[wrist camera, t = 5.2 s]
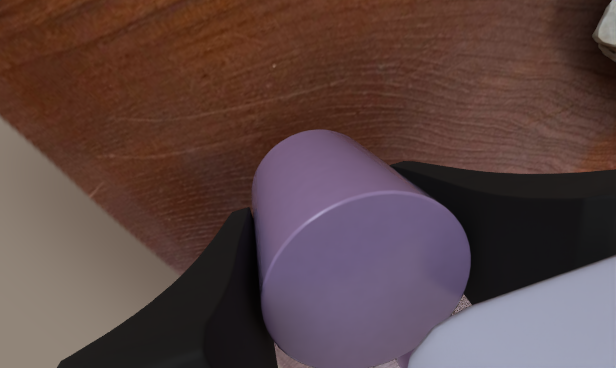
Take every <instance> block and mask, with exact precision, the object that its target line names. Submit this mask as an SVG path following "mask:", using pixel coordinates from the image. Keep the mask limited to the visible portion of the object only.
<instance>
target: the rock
mask: <svg viewBox="0 0 616 368" xmlns="http://www.w3.org/2000/svg"><path fill="white" fill-rule="evenodd" d="M592 37H593V39H594V40H595V41H596V42H597V43H599V45H598V47H599V48H600V49H601V50H602V53H603V54H604V55H605V56H607V57H609V58H611V59H612V60H613V61H615V62H616V0H612V1H611V3H610V4H609V5H608V6H607V7H606V9H605V12H604V14H603V16H602V18H601V20H600V22H599V24H598V26H597V28H596V30H595V31H594V33H593V35H592Z"/></svg>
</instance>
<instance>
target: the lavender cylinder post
mask: <svg viewBox="0 0 616 368" xmlns="http://www.w3.org/2000/svg"><path fill="white" fill-rule="evenodd" d="M252 209H253V221H254V233H255V244H256V256H257V268H258V279H259V291H260V303H261V311H262V317H263V321H264V323H265V326H266V329H267V331H268V333H269V334H270V336H271V338H272V339H273V341H274V342H275V343H276V344H277V346H278V347H279V348H280V349H281V350H282V351H283V352H285V353H286V354H287V355H288V356H290V357H291V358H293V359H294V360H296V361H298V362H300V363H302V364H305V365H307V366H310V367H314V368H371V367H375V366H378V365H381V364H384V363H387V362H390V361H392V360H394V359H396V358H399V357H401V356H403V355H405V354H406V353H408V352H410V351H412V350H413V349H415V348H416V347H417V346H418V345H419V343H420V342H421V341H422V340H423V339H424V337H425V336H426V335H427V334H428V333H429V332H430V330H431V329H432V328H433V327H434V326H435V325H436V324H438V323H440V322H442V321H444V320H445V319H447V318H449V317H450V316H451V314H452V313H453V311H454V310H455V308H456V307H457V305H458V303H459V302H460V300H461V298H462V296H463V293H464V291H465V289H466V285H467V282H468V279H469V274H470V268H471V253H470V246H469V242H468V239H467V236H466V233H465V231H464V229H463V227H462V225H461V223H460V222H459V221H458V219H457V218H456V217H455V215H454V214H453V213H452V212H451V211H449V210H448V209H447V208H446V207H445V206H444V205H442V204H441V203H440V202H438V201H437V200H435V199H434V198H433V197H431V196H430V195H429V194H427V193H426V192H425V191H423V190H422V189H420V188H419V187H418V186H416V185H415V184H414V183H412V182H411V181H410V180H408V179H407V178H405V177H404V176H403V175H401V174H400V173H399V172H397V171H396V170H395V169H393V168H392V167H390V166H389V165H388V164H386V163H385V162H384V161H382V160H381V159H380V158H378V157H377V156H376V155H374V154H373V153H371V152H370V151H369V150H367V149H366V148H365V147H363V146H362V145H361V144H359V143H358V142H356V141H355V140H353V139H352V138H350V137H349V136H346V135H344V134H342V133H339V132H335V131H330V130H309V131H304V132H300V133H297V134H295V135H292V136H290V137H288V138H286V139H285V140H283V141H281V142H280V143H279V144H277V145H276V146H275V147H274V148H272V149H271V150H270V151H269V152H268V154H267V155H266V156H265V157H264V159H263V160H262V162H261V163H260V165H259V166H258V169H257V171H256V173H255V176H254V180H253V183H252Z"/></svg>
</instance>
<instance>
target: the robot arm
mask: <svg viewBox="0 0 616 368" xmlns="http://www.w3.org/2000/svg"><path fill="white" fill-rule="evenodd" d="M389 166H390V167H392V168H393V169H395V170H396V171H397V172H399V173H400V174H401V175H403V176H404V177H405V178H407V179H408V180H410V181H411V182H412V183H414V184H415V185H416V186H418V187H419V188H420V189H422V190H423V191H425V192H426V193H427V194H429V195H430V196H431V197H433V198H434V199H435V200H437V201H438V202H440V203H441V204H442V205H444V206H445V207H446V208H447V209H448V210H449V211H451V212H452V213H453V214H454V215H455V217H456V218H457V219H458V221H459V222H460V223H461V225H462V227H463V229H464V231H465V233H466V236H467V239H468V242H469V246H470V253H471V268H470V274H469V279H468V282H467V285H466V289H465V291H464V293H463V294H464V295H465V296H466V298H467V299H468V300H469V301H470V303H471V304H472V306H469V307H466V308H465V309H463V310H461V311H459V312H458V313H456V314H454V315H452V316H451V317H449V318H447V319H445V320H444V321H442V322H440V323H438V324H436V325H435V326H434V327H433V328H432V329H431V330H430V332H429V333H428V334H427V335H426V336H425V337H424V339H423V340H422V341H421V342H420V343H419V345H418V346H417V347H416V348H415V349H414V351H413V352H412V354H411V356H410V359H409V363H408V368H616V170H605V171H593V172H580V173H561V174H513V173H494V172H483V171H474V170H466V169H459V168H452V167H446V166H440V165H434V164H427V163H421V162H413V161H403V162H399V163H396V164H392V165H389ZM57 368H278V365H277V359H276V353H275V347H274V341H273V339H272V338H271V336H270V334H269V333H268V331H267V329H266V326H265V323H264V321H263V317H262V311H261V303H260V291H259V279H258V268H257V256H256V244H255V233H254V221H253V216H252V214H251V211H250V208H249V207H248V208H244V209H241V210H238V211H234V212H232V213H231V214H230V216H229V217H228V219H227V220H226V222H225V223H224V224H223V226H222V227H221V229H220V230H219V232H218V233H217V234H216V236H215V237H214V239H213V240H212V241H211V243H210V244H209V245H208V246H207V248H206V249H205V250H204V251H203V252H202V254H201V255H200V256H199V257H198V259H197V260H196V261H195V262H194V263H193V264H192V265H191V266H190V267H189V268H188V269H187V270H186V271H185V272H184V273H183V274H182V275H181V276H180V277H179V278H178V279H177V280H176V281H175V282H174V283H173V284H172V285H171V286H170V287H168V288H167V289H166V290H165V291H164V292H162V293H161V294H160V295H159V296H158V297H156V298H155V299H154V300H153V301H152V302H150V303H149V304H148V305H147V306H145V307H144V308H143V309H141V310H140V311H139V312H137V313H136V314H135V315H134V316H132V317H130V318H129V319H127V320H126V321H125V322H123V323H122V324H120V325H119V326H117V327H116V328H114V329H113V330H111V331H110V332H108V333H107V334H105V335H104V336H102V337H100V338H99V339H97V340H96V341H94V342H92V343H90V344H89V345H87V346H86V347H84V348H82V349H81V350H79V351H77V352H76V353H74V354H73V355H71V356H69V357H67V358H66V359H64V360H62V361H61V362H60V364H59V365H58V367H57Z"/></svg>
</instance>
